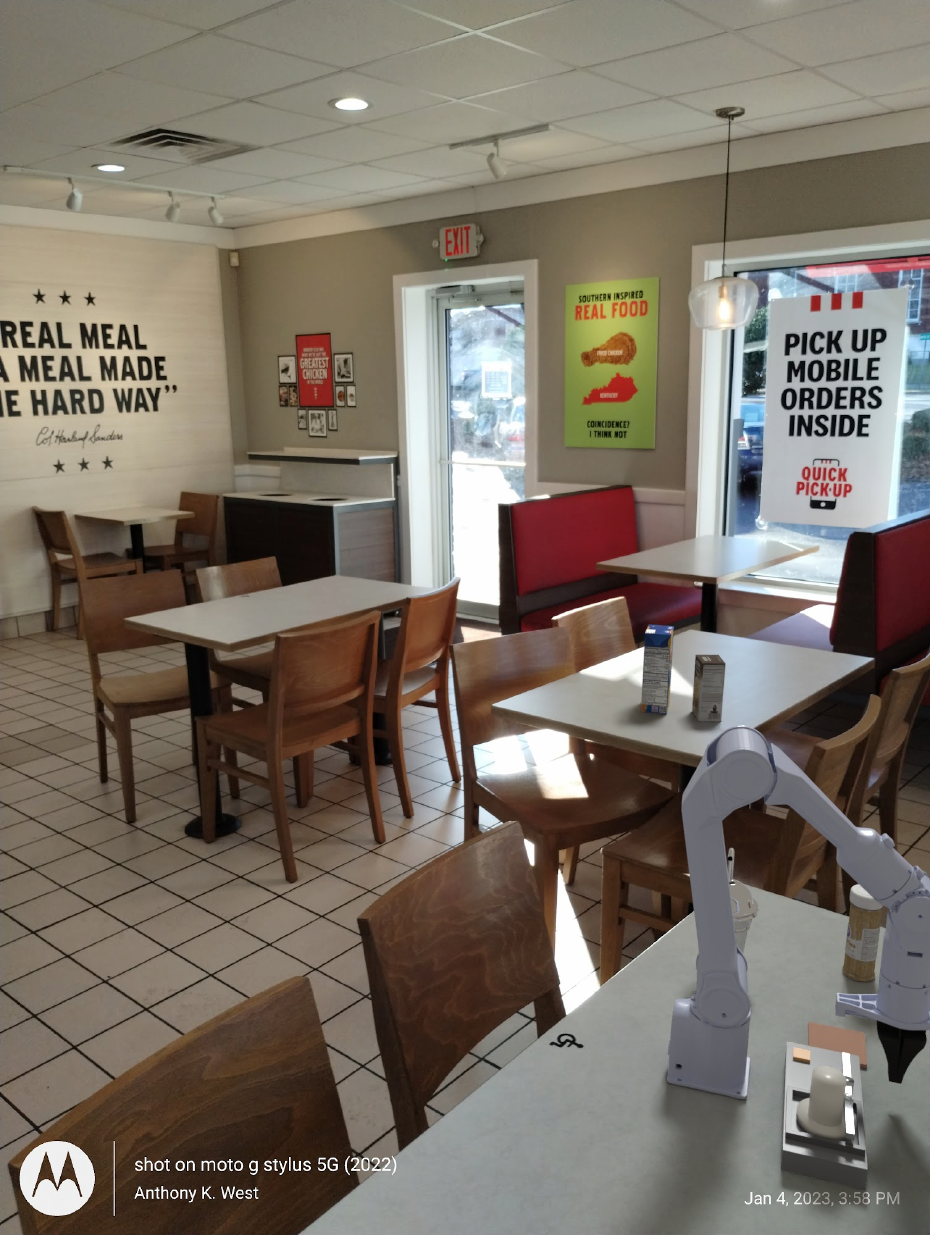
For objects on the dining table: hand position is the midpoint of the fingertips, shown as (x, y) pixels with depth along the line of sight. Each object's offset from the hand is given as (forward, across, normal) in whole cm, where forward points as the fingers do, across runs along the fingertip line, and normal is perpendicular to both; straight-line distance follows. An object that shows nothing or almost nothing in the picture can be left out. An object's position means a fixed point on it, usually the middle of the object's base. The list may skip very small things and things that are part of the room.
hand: (894, 1077), depth 120 cm
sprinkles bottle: (+3, +3, -28) cm, 28 cm away
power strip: (+3, +8, +6) cm, 10 cm away
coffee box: (+3, +36, -147) cm, 151 cm away
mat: (+3, +6, -9) cm, 11 cm away
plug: (+1, +8, +10) cm, 13 cm away
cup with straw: (+3, +22, -23) cm, 32 cm away
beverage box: (+3, +50, -150) cm, 158 cm away
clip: (+1, +6, +6) cm, 8 cm away
